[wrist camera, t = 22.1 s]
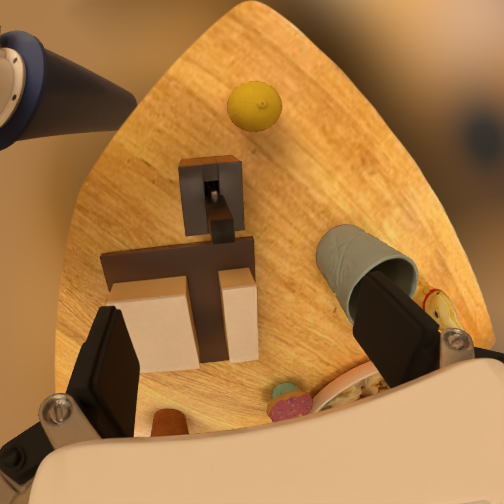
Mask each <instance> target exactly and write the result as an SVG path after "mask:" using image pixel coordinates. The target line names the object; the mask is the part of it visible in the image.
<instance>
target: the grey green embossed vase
mask: <svg viewBox="0 0 504 504" xmlns="http://www.w3.org/2000/svg"><path fill="white" fill-rule="evenodd" d="M316 261H317V265H318V268H319V270H320V271H321V273H322V274H323V276H324V278H325V279H326V281H327V283H328V284H329V286H330V288H331V289H332V291H333V293H336V297H337V299H338V301H339V303H340V305H341V307H342V308H343V310H344V312H345V314H346V316H347V317H348V319H349V321H350V322H351V323H352V324H353V325H354V320H355V315H356V310H357V304H358V299H359V293H360V286H361V280H362V278H363V277H365V275H366V273H369V272H375V271H381V272H382V273H383V274H384V275H385V276H387V277H388V278H389V279H390V280H391V281H392V282H393V283H395V284H396V285H397V286H398V287H399V288H400V289H401V290H402V291H403V292H405V293H406V294H407V295H408V296H409V297H410V298H411V299H413V297H414V294H415V292H416V289H417V285H418V270H417V267H416V265H415V263H414V262H413V261H412V260H411V259H410V258H409V257H407V256H405V255H404V254H402V253H400V252H399V251H397V250H395V249H394V248H392V247H390V246H388V245H387V244H386V243H384V242H382V241H380V240H379V239H378V238H376V237H374V236H372V235H370V234H369V233H366V232H365V231H364V230H362V229H360V228H359V227H356V226H354V225H347V224H345V225H340V226H337V227H335V228H333V229H331V230H330V231H329V232H327V233H326V234H325V236H324V237H323V238H322V239H321V241H320V243H319V245H318V248H317V252H316Z"/></svg>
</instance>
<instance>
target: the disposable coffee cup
mask: <svg viewBox="0 0 504 504" xmlns="http://www.w3.org/2000/svg"><path fill="white" fill-rule="evenodd" d="M188 434H189V432H188V428H187V423H186V418H185V415H184V414H183V413H181V412H180V411H177V410H173V409H162V410H159V411H157V412H156V413H155V415H154V420H153V426H152V431H151V437H159V436H175V435H188Z"/></svg>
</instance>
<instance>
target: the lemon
mask: <svg viewBox="0 0 504 504" xmlns="http://www.w3.org/2000/svg"><path fill="white" fill-rule="evenodd" d="M281 110H282V102H281V98H280V96H279V94H278V92H277V91H276V90H275V89H274V88H273V87H272V86H270V85H268V84H266V83H264V82H259V81H250V82H246V83H243V84H241V85H240V86H238V87H236V88H235V89H234V90H233V91H232V93H231V95H230V96H229V99H228V103H227V111H228V114H229V117H230V119H231V120H232V122H233V123H234V124H235V125H236V126H238V127H239V128H241V129H243V130H246V131H251V132H257V131H263V130H265V129H267V128H269V127H271V126H272V125H273V124H275V122H276V121H277V120H278V118H279V116H280V114H281Z"/></svg>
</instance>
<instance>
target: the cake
mask: <svg viewBox="0 0 504 504" xmlns="http://www.w3.org/2000/svg"><path fill="white" fill-rule="evenodd" d="M105 305H106V306H113V305H114V306H115V307H116V308H117V309H120V310H121V311H122V314H123V317H124V321H125V324H126V327H127V330H128V332H129V335H130V338H131V341H132V344H133V347H134V349H135V352H136V355H137V357H138V360H139V363H140V373H153V372H167V371H179V370H189V369H199V368H200V358H199V345H198V340H197V335H196V330H195V324H194V319H193V313H192V308H191V302H190V296H189V290H188V284H187V278H186V276H179V277H170V278H161V279H152V280H142V281H133V282H123V283H114V284H113V286H112V289H111V291H110V293H109V296H108V298H107V301H106V303H105Z"/></svg>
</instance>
